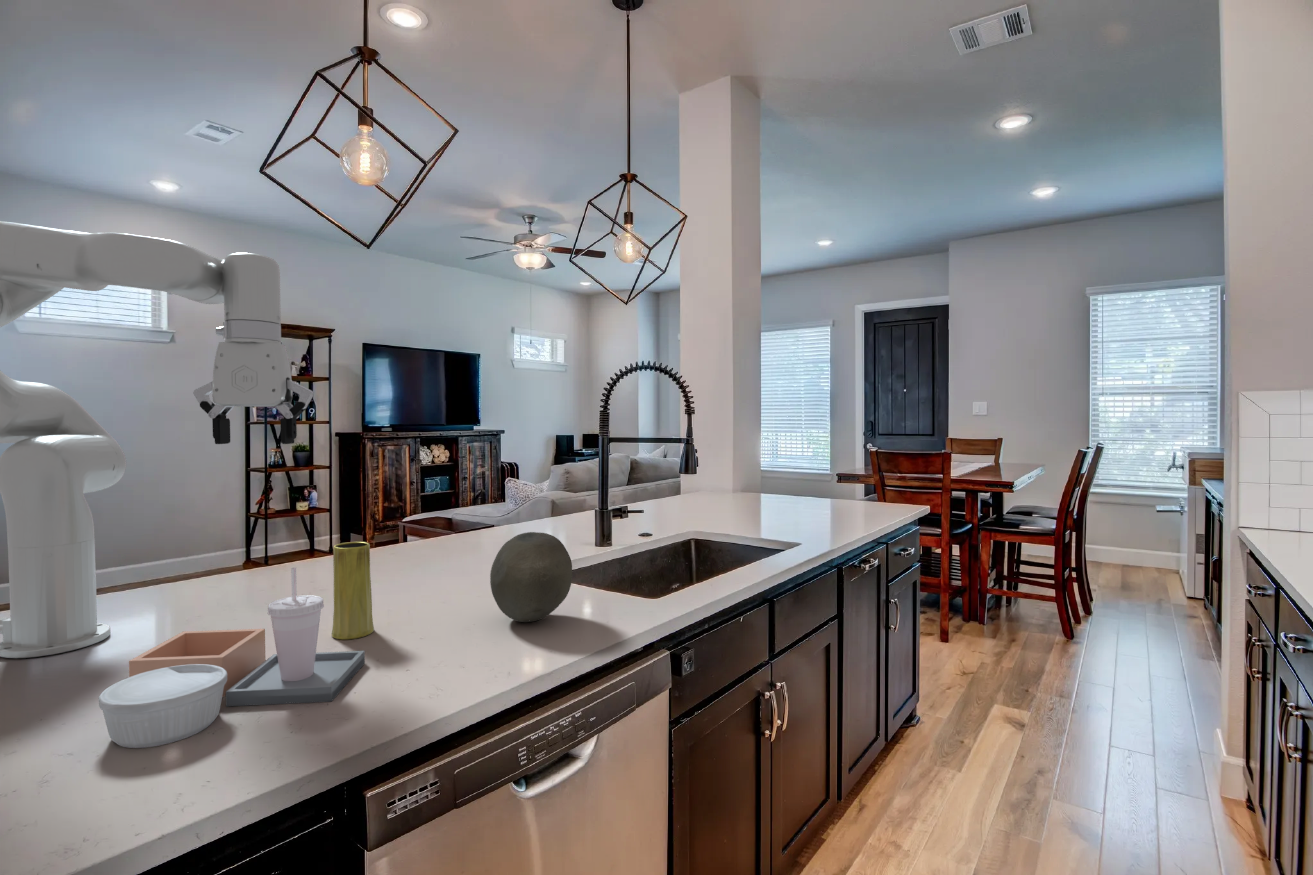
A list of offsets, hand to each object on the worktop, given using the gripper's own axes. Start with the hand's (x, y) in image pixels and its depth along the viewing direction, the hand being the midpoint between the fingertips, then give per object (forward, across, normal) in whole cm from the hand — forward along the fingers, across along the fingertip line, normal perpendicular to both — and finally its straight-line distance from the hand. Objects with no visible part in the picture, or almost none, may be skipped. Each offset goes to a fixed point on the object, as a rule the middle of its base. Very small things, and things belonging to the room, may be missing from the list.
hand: (255, 443), depth 101 cm
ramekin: (+31, +5, -32) cm, 44 cm away
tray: (+30, +15, -21) cm, 40 cm away
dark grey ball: (+31, +43, +1) cm, 53 cm away
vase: (+31, +15, -2) cm, 34 cm away
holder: (+30, +2, -19) cm, 36 cm away
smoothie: (+30, +15, -21) cm, 39 cm away
